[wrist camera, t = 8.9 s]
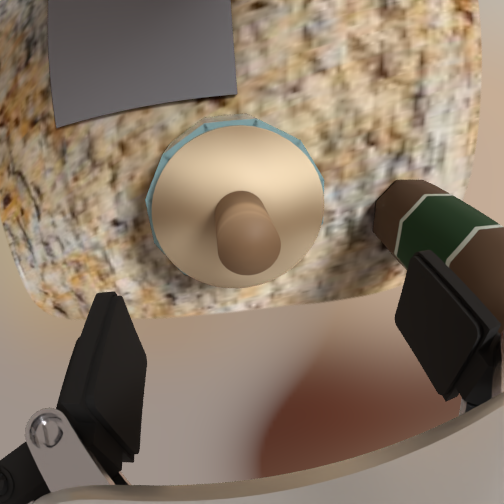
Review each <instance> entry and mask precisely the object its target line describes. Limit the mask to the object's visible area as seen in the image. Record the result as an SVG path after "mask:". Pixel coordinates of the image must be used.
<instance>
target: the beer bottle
mask: <svg viewBox="0 0 504 504" xmlns="http://www.w3.org/2000/svg"><path fill="white" fill-rule="evenodd" d="M373 232H374V233H375V235H376V236H377V237H378V238H379V239H380V240H381V242H382V243H383V244H384V245H385V246H386V247H387V249H388V250H389V251H390V252H391V253H392V254H393V256H394V257H395V258H396V259H397V260H398V261H399V262H400V263H401V264H402V265H403V266H404V267H405V269H406V270H407V269H408V265H409V261H410V259H411V257H413V255H414V253H416V252H419V251H425V250H431V251H433V252H434V253H435V254H436V255H437V256H438V257H439V258H440V259H441V260H442V261H443V262H444V263H445V264H446V265H447V266H448V267H449V268H450V269H451V270H452V271H453V272H454V273H455V274H456V275H457V276H458V277H459V278H460V279H461V280H462V281H463V282H464V283H465V284H466V285H467V287H468V288H469V289H470V290H471V291H472V292H473V293H474V294H475V295H476V296H477V297H478V298H479V299H480V301H481V302H482V303H483V304H484V305H485V306H486V307H487V308H488V309H489V311H490V312H491V313H492V314H493V315H494V316H495V317H496V319H497V320H498V321H499V322H500V323H501V326H500V328H499V330H498V332H499V333H500V334H501V333H502V331H503V329H504V227H503V226H501V225H500V224H498V223H497V222H495V221H494V220H492V219H490V218H489V217H487V216H486V215H484V214H483V213H481V212H480V211H478V210H476V209H475V208H473V207H471V206H470V205H468V204H466V203H465V202H463V201H461V200H460V199H458V198H456V197H455V196H453V195H451V194H449V193H448V192H446V191H444V190H442V189H440V188H439V187H437V186H435V185H433V184H431V183H428V182H426V181H424V180H396V181H395V182H394V183H393V184H392V185H391V187H390V188H389V189H388V190H387V191H386V192H385V193H384V194H383V195H382V196H381V197H380V198H379V199H378V200H377V201H376V208H375V217H374V225H373Z"/></svg>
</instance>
